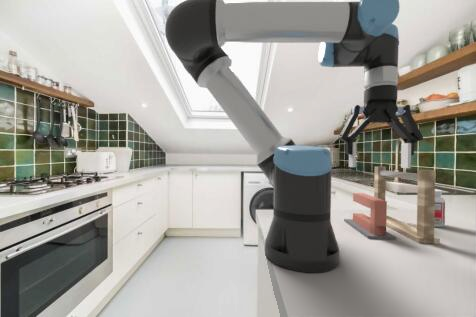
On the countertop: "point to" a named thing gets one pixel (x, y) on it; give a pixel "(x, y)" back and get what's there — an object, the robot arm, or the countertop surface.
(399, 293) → the countertop surface
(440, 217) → the pill bottle
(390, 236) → the mat
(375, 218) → the c link
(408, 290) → the countertop surface
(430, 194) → the stand
